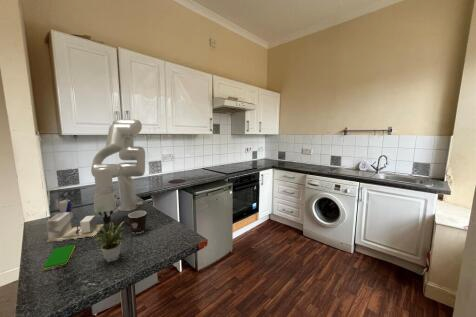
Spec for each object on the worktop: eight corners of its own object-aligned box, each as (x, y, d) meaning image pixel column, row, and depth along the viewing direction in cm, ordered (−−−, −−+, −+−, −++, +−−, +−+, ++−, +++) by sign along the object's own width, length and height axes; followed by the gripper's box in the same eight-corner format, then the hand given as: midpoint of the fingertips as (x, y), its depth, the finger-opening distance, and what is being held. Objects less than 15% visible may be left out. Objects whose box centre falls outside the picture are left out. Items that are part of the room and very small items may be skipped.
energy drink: (75, 219, 121) (73, 200, 119) (65, 223, 116) (62, 203, 114) (69, 217, 122) (66, 199, 120) (59, 221, 117) (56, 202, 115)
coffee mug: (151, 229, 110) (150, 212, 108) (137, 237, 102) (135, 219, 100) (136, 225, 114) (135, 208, 113) (122, 232, 107) (120, 214, 105)
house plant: (83, 275, 76) (78, 235, 73) (92, 254, 88) (88, 219, 86) (126, 265, 81) (123, 228, 79) (129, 247, 94) (126, 214, 91)
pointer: (80, 233, 102) (79, 224, 101) (78, 235, 100) (77, 226, 99) (78, 234, 102) (76, 224, 101) (76, 236, 100) (74, 226, 99)
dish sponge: (75, 248, 93) (74, 244, 92) (66, 267, 81) (66, 262, 80) (55, 253, 89) (54, 248, 89) (43, 273, 77) (42, 267, 77)
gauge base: (103, 225, 113) (102, 209, 112) (94, 237, 102) (93, 218, 100) (61, 230, 108) (59, 212, 106) (47, 242, 96) (44, 223, 95)
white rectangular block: (96, 225, 110) (95, 215, 109) (89, 234, 101) (87, 223, 100) (87, 226, 109) (86, 216, 108) (78, 235, 100) (77, 224, 99)
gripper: (122, 187, 111) (124, 218, 114) (91, 189, 107) (94, 221, 110) (118, 191, 104) (120, 224, 106) (84, 193, 100) (88, 227, 102)
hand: (107, 222), depth 108 cm, fingers closed
